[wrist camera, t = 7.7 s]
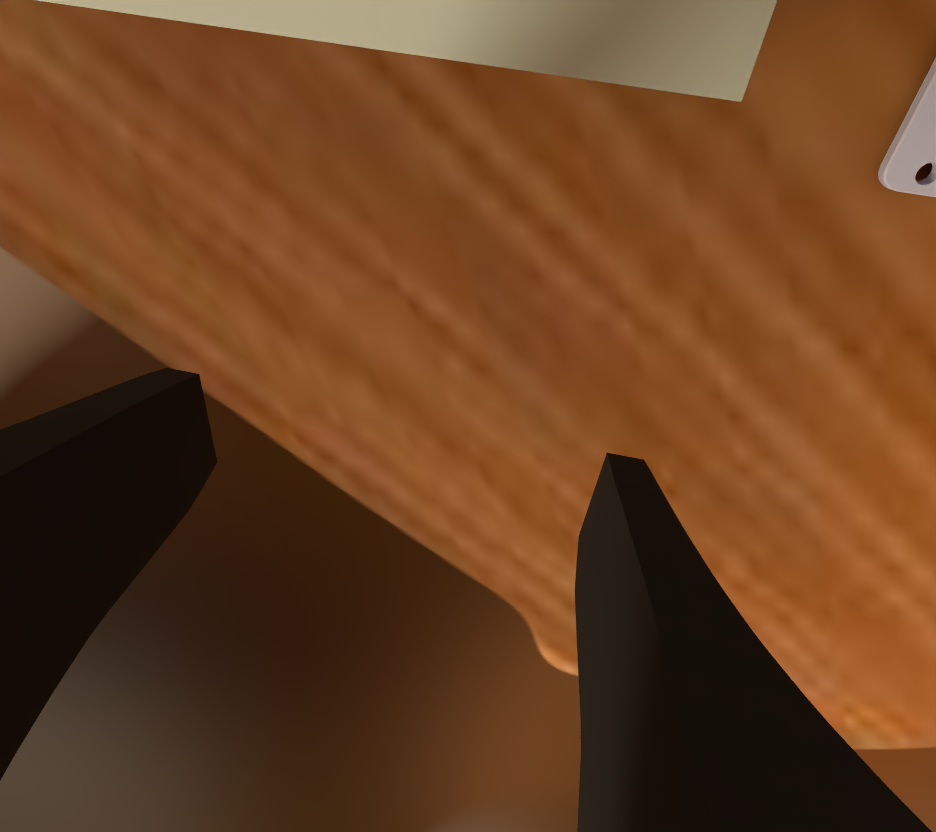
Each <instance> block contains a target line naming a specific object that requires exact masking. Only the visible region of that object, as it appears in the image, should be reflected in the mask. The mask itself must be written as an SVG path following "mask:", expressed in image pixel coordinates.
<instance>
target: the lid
mask: <svg viewBox="0 0 936 832" xmlns="http://www.w3.org/2000/svg"><path fill="white" fill-rule="evenodd" d="M38 1H45V2H52V3H59V4H66V5H73V6H80V7H87V8H94V9H101V10H108V11H115V12H121V13H128V14H135V15H142V16H149V17H156V18H163V19H170V20H177V21H184V22H191V23H198V24H205V25H212V26H219V27H225V28H232V29H239V30H246V31H253V32H260V33H267V34H274V35H281V36H288V37H295V38H302V39H309V40H316V41H323V42H329V43H336V44H343V45H350V46H357V47H364V48H371V49H378V50H385V51H392V52H399V53H406V54H413V55H420V56H427V57H433V58H440V59H447V60H454V61H461V62H468V63H475V64H482V65H489V66H496V67H503V68H510V69H517V70H524V71H531V72H537V73H544V74H551V75H558V76H565V77H572V78H579V79H586V80H593V81H600V82H607V83H614V84H621V85H628V86H635V87H641V88H648V89H655V90H662V91H669V92H676V93H683V94H690V95H697V96H704V97H711V98H718V99H725V100H732V101H739V102H741V101H742V99H743V96H744V93H745V90H746V87H747V84H748V81H749V79H750V76H751V73H752V70H753V67H754V64H755V62H756V59H757V56H758V53H759V50H760V47H761V45H762V42H763V39H764V36H765V33H766V30H767V28H768V25H769V22H770V19H771V16H772V13H773V11H774V8H775V5H776V2H777V0H38Z"/></svg>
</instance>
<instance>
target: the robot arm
mask: <svg viewBox="0 0 936 832" xmlns="http://www.w3.org/2000/svg"><path fill="white" fill-rule="evenodd" d="M927 163H932V166H933V167H932V170H931V173H930V174H929V175H928V176H927V177H926V178H925V179H923V180H921V181H916V179H915V177H916V173H917V171H918V170H919V169H920V168H921V167H922V166H924V165H925V164H927ZM878 176H879V181H880V182H881V183H882V185H883V186H885V187H887V188H889V189H891V190H894V191H898V192H905V193H911V194H918V195H924V196H931V197H936V58H935V60H934V62H933V64H932V66H931V68H930V70H929V72H928V74H927V76H926V78H925V79H924V81H923V83H922V85H921V87H920V89H919V91H918V93H917V95H916V97H915V99H914V101H913V103H912V105H911V107H910V109H909V111H908V113H907V115H906V117H905V118H904V120H903V122H902V124H901V126H900V128H899V130H898V132H897V134H896V136H895V138H894V140H893V142H892V144H891V146H890V148H889V150H888V152H887V154H886V156H885V157H884V159H883V161H882V163H881V166H880V169H879V172H878ZM216 463H217V458H216V454H215V449H214V444H213V439H212V434H211V429H210V424H209V420H208V415H207V410H206V405H205V400H204V395H203V391H202V386H201V381H200V376H199V374H196V373H191V372H186V371H181V370H175V369H170V368H165V369H161V370H158V371H155V372H152V373H148V374H146V375H143V376H140V377H137V378H134V379H131V380H129V381H126V382H123V383H121V384H118V385H116V386H113V387H110V388H108V389H105V390H103V391H100V392H98V393H95V394H93V395H90V396H87V397H85V398H83V399H80V400H77V401H75V402H72V403H70V404H67V405H64V406H62V407H59V408H57V409H54V410H52V411H49V412H46V413H44V414H41V415H39V416H36V417H34V418H31V419H29V420H26V421H23V422H21V423H17V424H15V425H12V426H9V427H6V428H4V429H1V430H0V780H1V778H2V777H3V775H4V773H5V771H6V769H7V768H8V766H9V764H10V762H11V761H12V759H13V757H14V755H15V754H16V752H17V750H18V749H19V747H20V745H21V744H22V742H23V740H24V739H25V737H26V736H27V734H28V732H29V731H30V729H31V727H32V726H33V724H34V723H35V721H36V719H37V717H38V716H39V714H40V713H41V711H42V709H43V708H44V706H45V705H46V703H47V701H48V700H49V698H50V696H51V695H52V693H53V692H54V690H55V688H56V687H57V685H58V684H59V682H60V681H61V679H62V678H63V676H64V675H65V673H66V671H67V670H68V669H69V667H70V665H71V664H72V662H73V661H74V659H75V658H76V656H77V655H78V653H79V652H80V650H81V649H82V647H83V646H84V644H85V642H86V641H87V639H88V638H89V637H90V635H91V634H92V632H93V631H94V630H95V628H96V627H97V626H98V624H99V623H100V622H101V620H102V619H103V618H104V616H105V615H106V614H107V612H108V611H109V610H110V609H111V607H112V606H113V605H114V604H115V602H116V601H117V600H118V598H119V597H120V596H121V595H122V594H123V592H124V591H125V590H126V589H127V587H128V586H129V585H130V584H131V582H132V581H133V580H134V578H135V577H136V576H137V575H138V574H139V572H140V571H141V570H142V569H143V567H144V566H145V565H146V564H147V563H148V561H149V560H150V559H151V557H152V556H153V555H154V554H155V553H156V551H157V550H158V549H159V548H160V546H161V545H162V544H163V543H164V541H165V540H166V539H167V538H168V536H169V535H170V534H171V532H172V531H173V530H174V528H175V527H176V526H177V525H178V523H179V522H180V521H181V520H182V518H183V517H184V516H185V514H186V513H187V512H188V510H189V509H190V507H191V506H192V504H193V503H194V501H195V500H196V498H197V496H198V495H199V493H200V492H201V490H202V488H203V487H204V485H205V483H206V481H207V479H208V478H209V476H210V474H211V472H212V471H213V469H214V467H215V465H216ZM575 607H576V630H577V652H578V673H579V693H580V715H581V764H580V787H579V808H578V828H577V832H932V831H931V830H930V829H929V828H928V827H926V825H925V824H924V823H923V822H922V821H921V820H920V819H919V818H918V817H917V816H916V815H915V814H914V813H913V812H912V811H911V810H910V809H909V808H908V807H907V806H906V805H905V804H904V803H903V802H902V801H901V800H900V799H899V798H898V797H897V796H896V795H895V794H894V793H893V792H892V791H891V790H890V789H889V788H888V787H887V786H886V785H885V784H884V782H882V781H881V779H880V778H879V777H878V776H877V775H876V774H875V773H874V772H873V771H872V770H871V769H870V767H869V766H868V765H867V764H866V763H865V762H864V761H863V760H862V759H861V758H860V757H859V756H858V754H857V753H856V752H855V751H854V750H853V749H852V748H851V747H850V746H849V745H848V744H847V743H846V741H845V740H844V739H843V738H842V737H841V736H840V735H839V734H838V733H837V732H836V731H835V730H834V728H833V727H832V726H831V725H830V724H829V723H828V722H827V721H826V719H825V718H824V717H823V716H822V715H821V714H820V713H819V712H818V710H817V709H816V708H815V707H814V706H813V705H812V704H811V702H810V701H809V700H808V699H807V698H806V697H805V695H804V694H803V693H802V692H801V691H800V689H799V688H798V687H797V686H796V684H795V683H794V682H793V681H792V680H791V678H790V677H789V676H788V675H787V673H786V672H785V671H784V670H783V669H782V667H781V666H780V665H779V664H778V663H777V661H776V660H775V659H774V658H773V656H772V655H771V654H770V653H769V652H768V650H767V649H766V648H765V646H764V645H763V644H762V643H761V641H760V640H759V639H758V637H757V636H756V635H755V634H754V632H753V631H752V630H751V628H750V627H749V626H748V624H747V623H746V621H745V620H744V619H743V617H742V616H741V614H740V613H739V612H738V610H737V609H736V607H735V606H734V605H733V603H732V602H731V600H730V599H729V598H728V596H727V595H726V593H725V592H724V590H723V589H722V587H721V586H720V584H719V583H718V581H717V580H716V578H715V577H714V576H713V574H712V573H711V571H710V569H709V568H708V566H707V565H706V563H705V562H704V560H703V558H702V557H701V555H700V554H699V552H698V551H697V549H696V547H695V546H694V544H693V543H692V541H691V540H690V538H689V536H688V535H687V533H686V531H685V530H684V528H683V526H682V525H681V523H680V521H679V520H678V518H677V516H676V514H675V513H674V511H673V509H672V508H671V506H670V504H669V502H668V501H667V499H666V497H665V495H664V494H663V492H662V490H661V488H660V487H659V485H658V483H657V481H656V480H655V478H654V476H653V474H652V472H651V471H650V469H649V467H648V466H647V464H646V463H645V461H644V460H642V459H637V458H632V457H627V456H621V455H616V454H611V453H607V454H606V457H605V460H604V463H603V466H602V469H601V472H600V475H599V478H598V481H597V484H596V487H595V490H594V493H593V496H592V499H591V502H590V505H589V508H588V510H587V513H586V516H585V519H584V522H583V525H582V528H581V531H580V534H579V541H578V553H577V566H576V581H575Z"/></svg>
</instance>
